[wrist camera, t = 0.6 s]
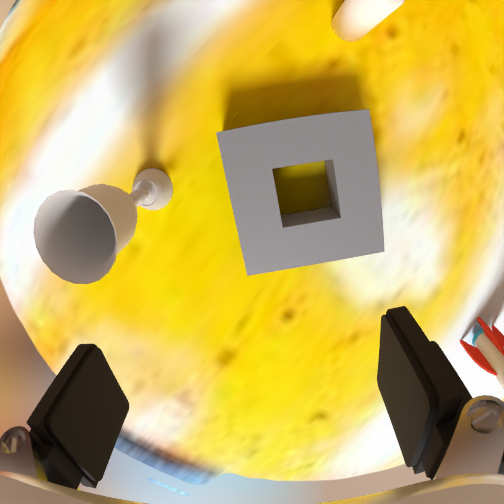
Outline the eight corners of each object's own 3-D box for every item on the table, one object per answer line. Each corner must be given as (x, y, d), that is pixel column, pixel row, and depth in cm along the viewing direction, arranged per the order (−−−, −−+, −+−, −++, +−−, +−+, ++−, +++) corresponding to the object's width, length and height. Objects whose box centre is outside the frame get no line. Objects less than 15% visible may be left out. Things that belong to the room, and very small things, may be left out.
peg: (328, 12, 28) (354, -32, 17) (360, 11, 28) (397, -29, 17) (335, 42, 30) (367, 7, 18) (368, 41, 29) (410, 9, 18)
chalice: (175, 154, 35) (102, 177, 18) (187, 211, 37) (130, 277, 20) (118, 168, 36) (23, 203, 19) (131, 222, 38) (51, 288, 21)
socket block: (222, 132, 34) (216, 132, 29) (355, 111, 32) (369, 109, 28) (249, 257, 39) (247, 275, 34) (370, 236, 38) (384, 251, 33)
